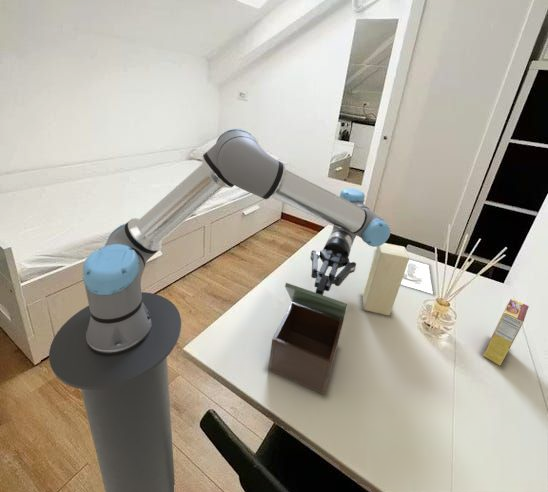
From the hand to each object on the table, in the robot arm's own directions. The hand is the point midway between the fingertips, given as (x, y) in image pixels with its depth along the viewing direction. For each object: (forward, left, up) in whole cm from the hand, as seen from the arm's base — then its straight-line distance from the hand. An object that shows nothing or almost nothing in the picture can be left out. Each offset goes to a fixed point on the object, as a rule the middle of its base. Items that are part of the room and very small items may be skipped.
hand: (318, 294), depth 68 cm
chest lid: (0, -1, -2) cm, 2 cm away
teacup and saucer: (+23, +53, -18) cm, 60 cm away
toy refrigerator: (+15, +27, -18) cm, 36 cm away
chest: (0, -3, -18) cm, 18 cm away
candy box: (+47, +24, -18) cm, 56 cm away
